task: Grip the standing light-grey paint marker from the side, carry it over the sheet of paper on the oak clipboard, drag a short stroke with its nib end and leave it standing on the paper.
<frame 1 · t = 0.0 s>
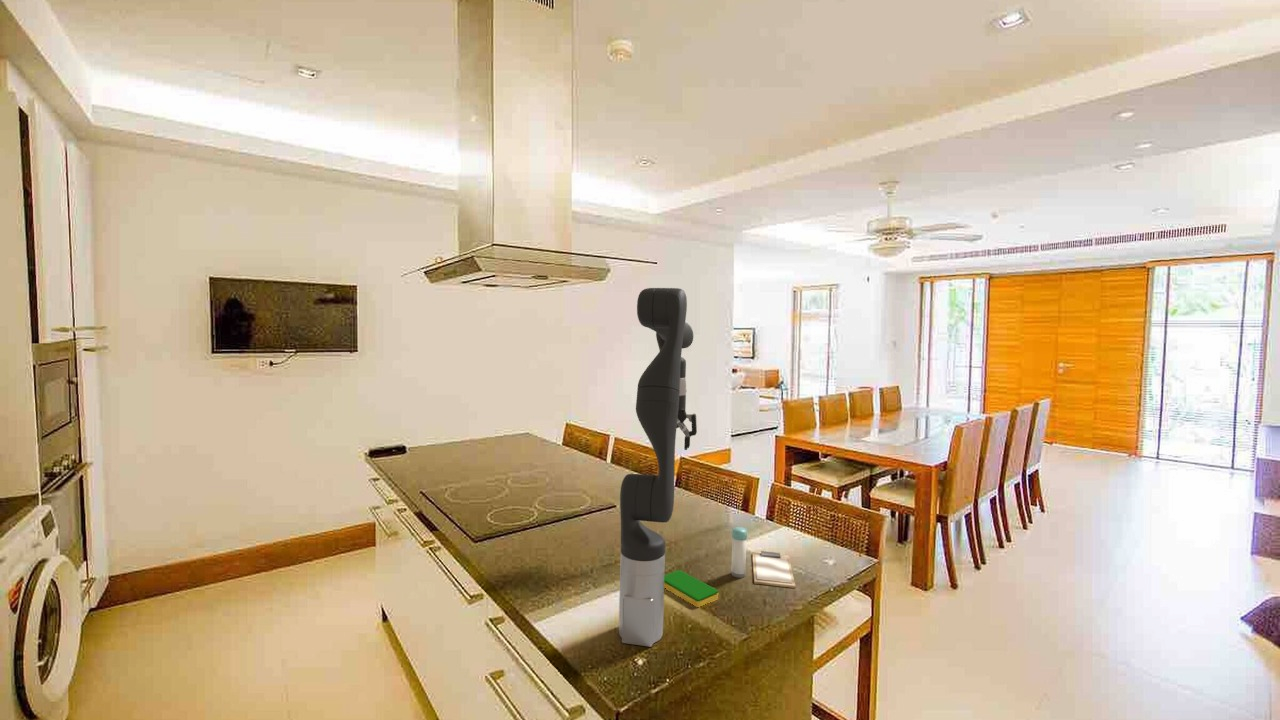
hand: (671, 448, 152), 29 cm above the kitchen island, tool pointing down, fingers open, 8 cm apart
clipboard: (772, 570, 140), on the kitchen island
dish sponge: (687, 594, 127), on the kitchen island
marker: (738, 574, 137), on the kitchen island
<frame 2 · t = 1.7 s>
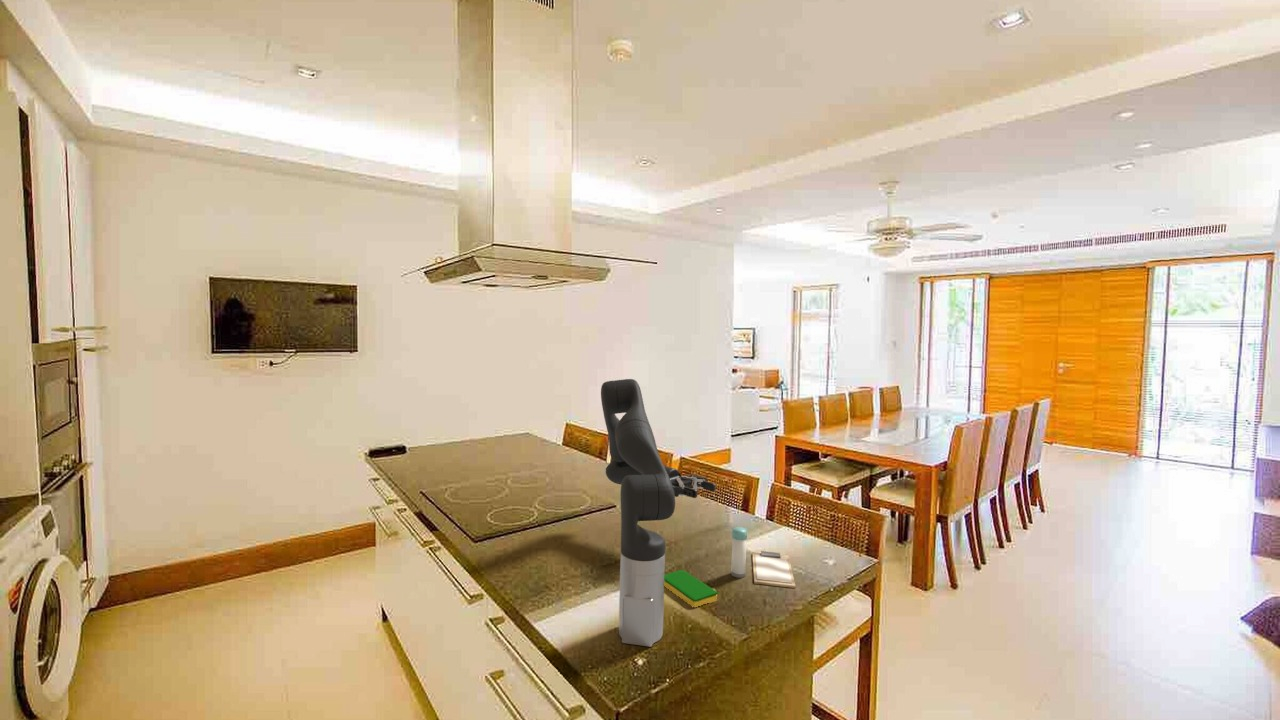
hand: (706, 491, 143), 20 cm above the kitchen island, tool horizontal, fingers open, 8 cm apart
nothing on the kitchen island moved.
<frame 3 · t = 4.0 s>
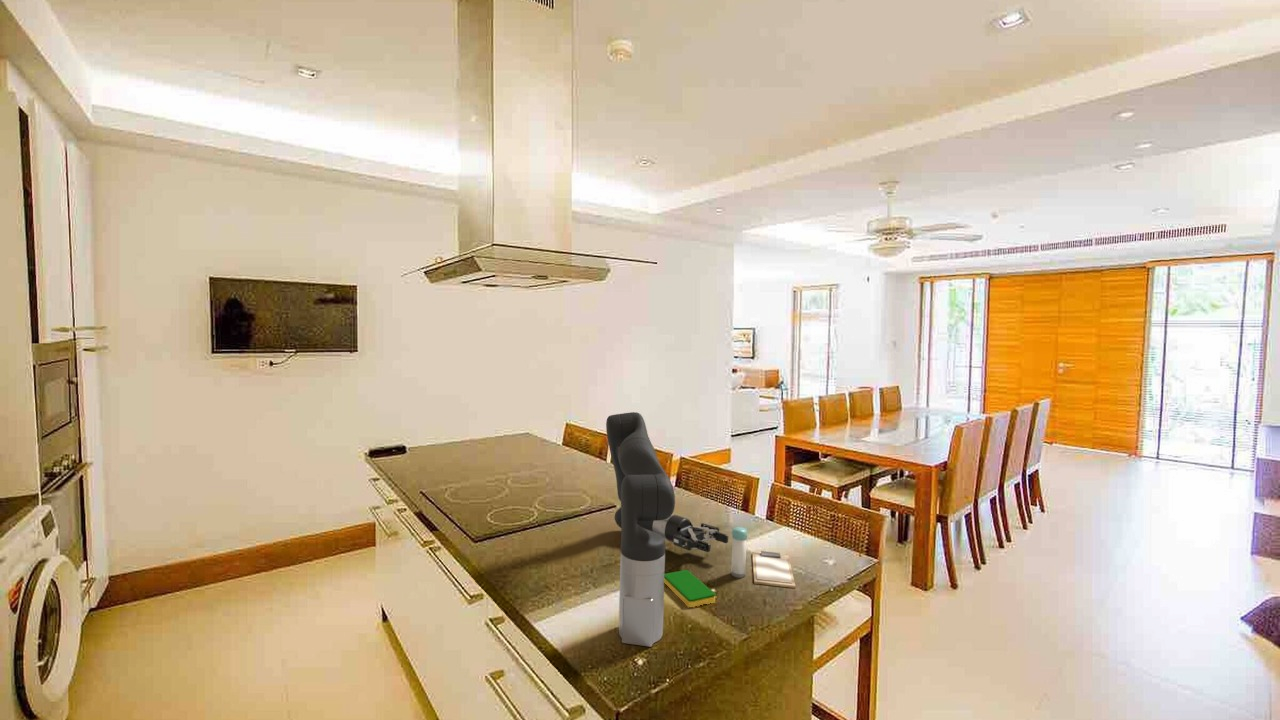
hand: (718, 543, 141), 6 cm above the kitchen island, tool horizontal, fingers open, 8 cm apart
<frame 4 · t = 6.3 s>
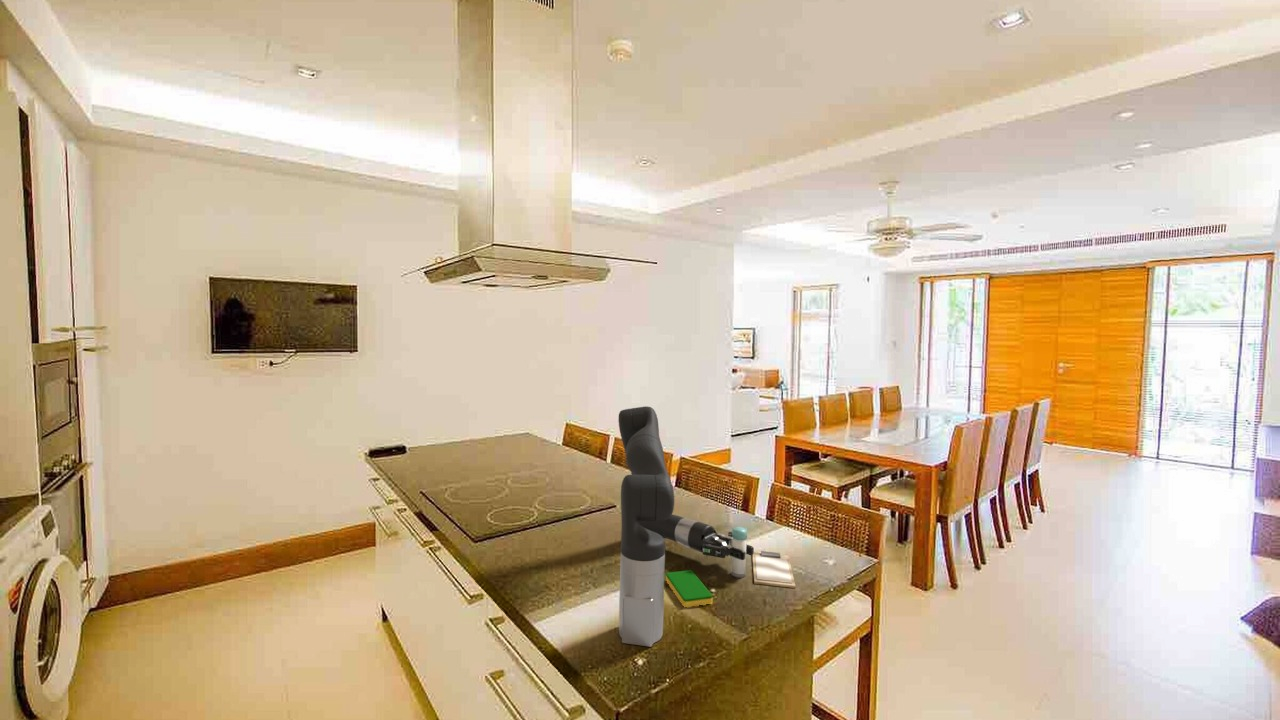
hand: (748, 553, 135), 7 cm above the kitchen island, tool horizontal, fingers closed on marker, 3 cm apart
marker: (738, 574, 137), on the kitchen island, touching gripper
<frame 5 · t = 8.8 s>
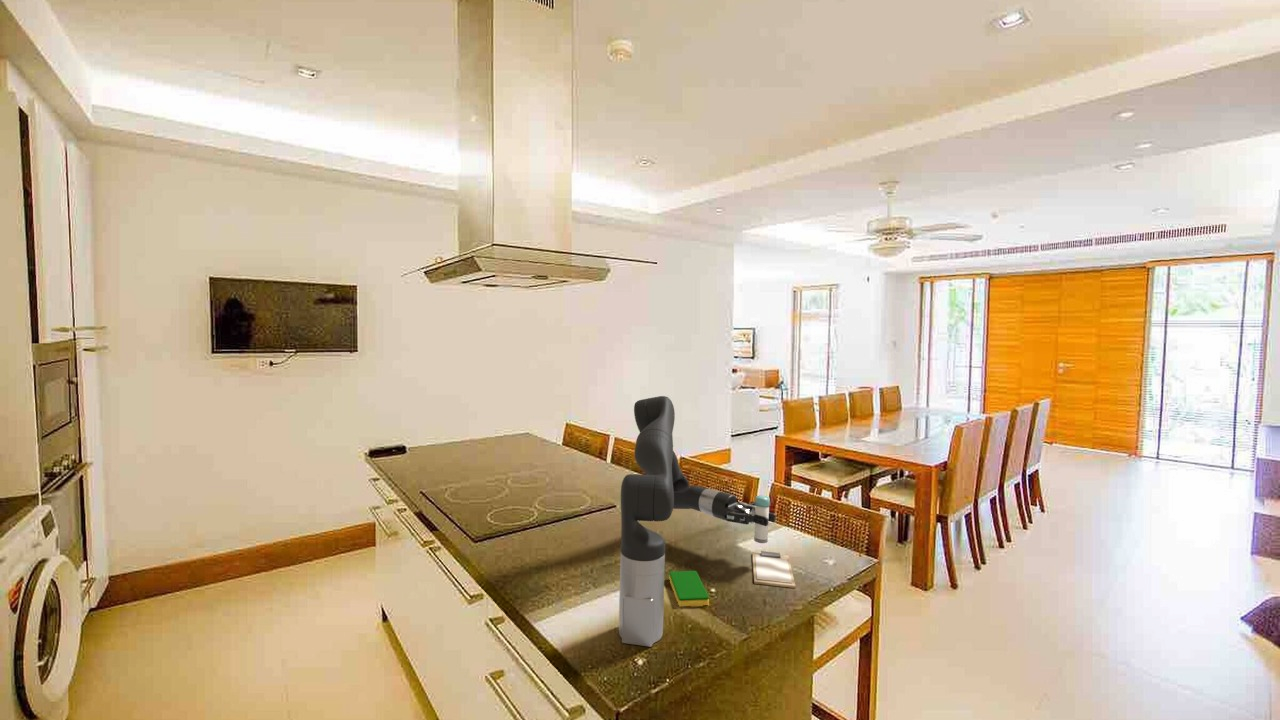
hand: (771, 520, 141), 13 cm above the kitchen island, tool horizontal, fingers closed on marker, 3 cm apart
marker: (760, 540, 144), point 6 cm above the kitchen island, touching gripper
when the fingers open (8 cm above the kitchen island, at t = 11.2 s): marker stays where it is, resting on clipboard.
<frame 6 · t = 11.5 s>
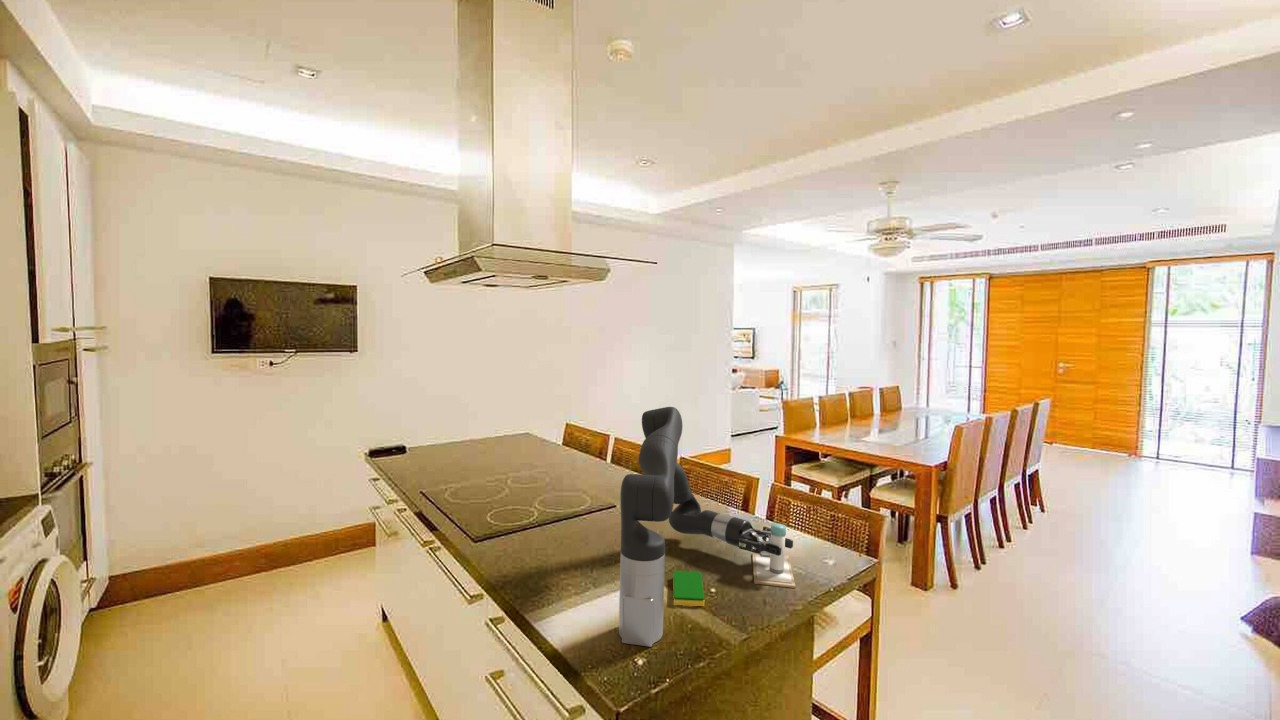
hand: (786, 547, 136), 8 cm above the kitchen island, tool horizontal, fingers open, 6 cm apart
marker: (776, 570, 138), point 1 cm above the kitchen island, touching clipboard
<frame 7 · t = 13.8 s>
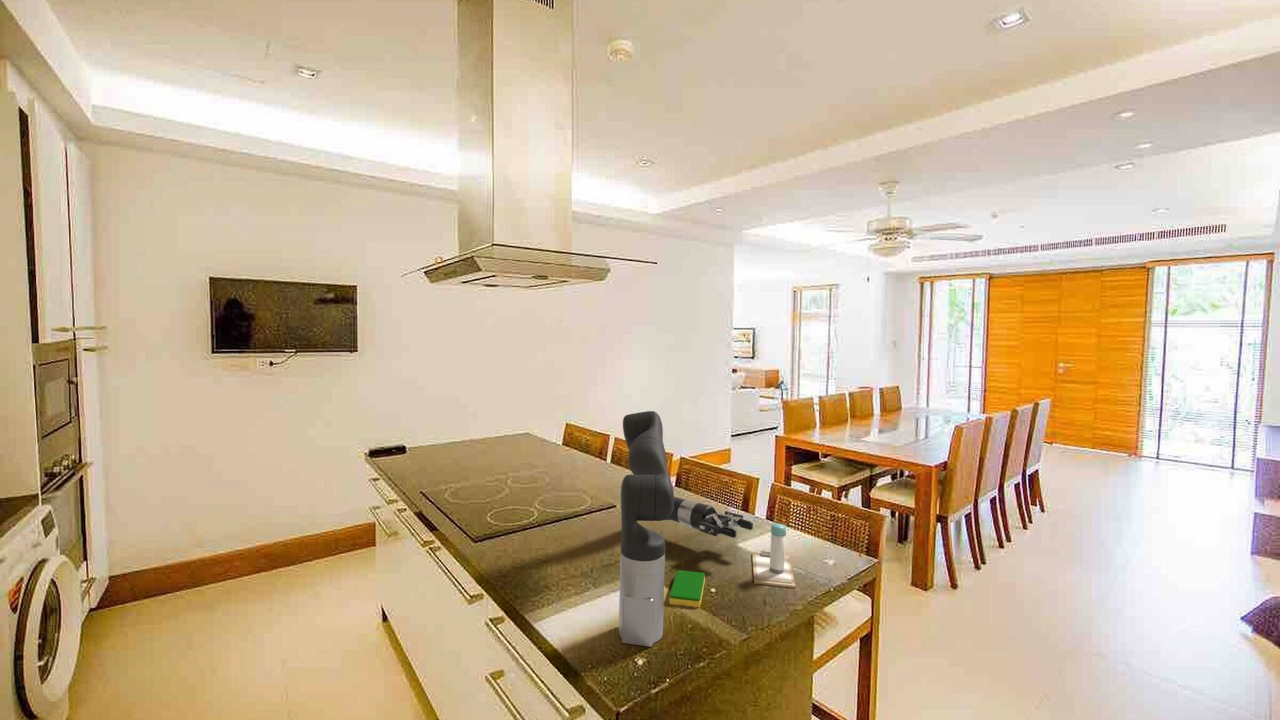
hand: (744, 530, 144), 9 cm above the kitchen island, tool horizontal, fingers open, 8 cm apart
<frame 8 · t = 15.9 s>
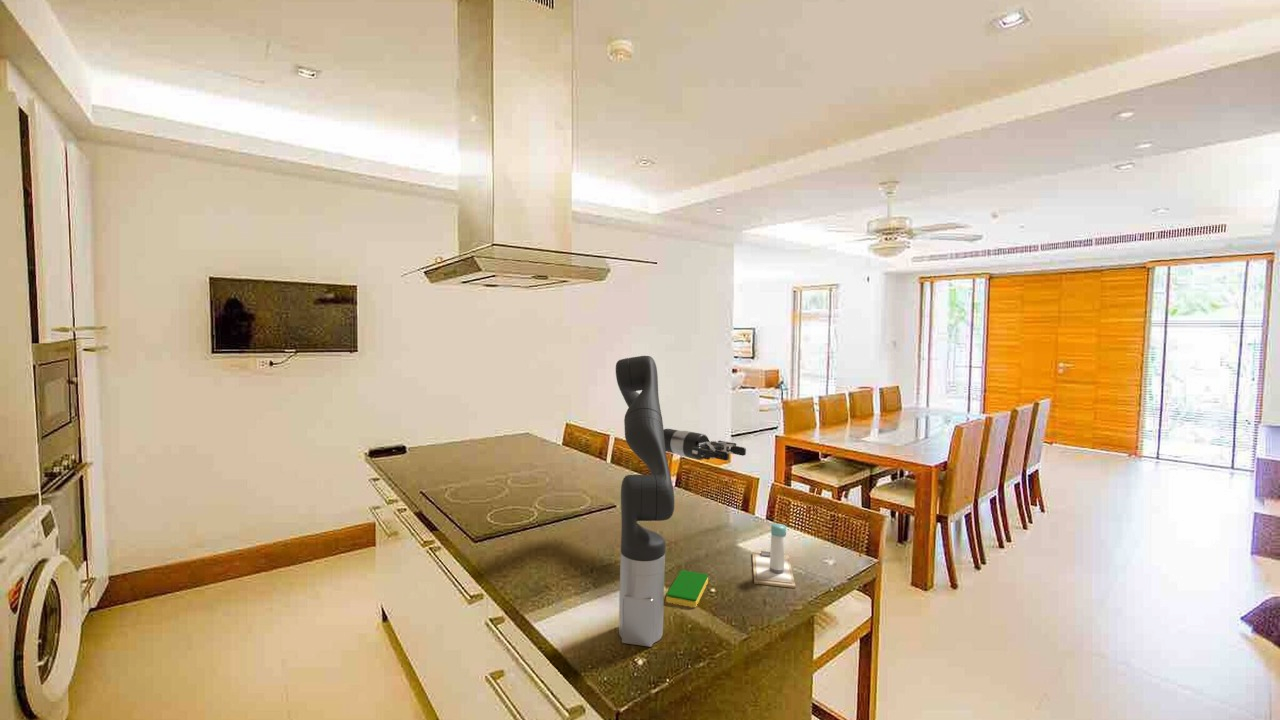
hand: (736, 454, 143), 30 cm above the kitchen island, tool horizontal, fingers open, 8 cm apart
at the end: marker inside the target area on the clipboard (2.2 cm from its centre), point 0.8 cm above the clipboard's base; marker tilted 1°; the gripper is holding nothing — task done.
